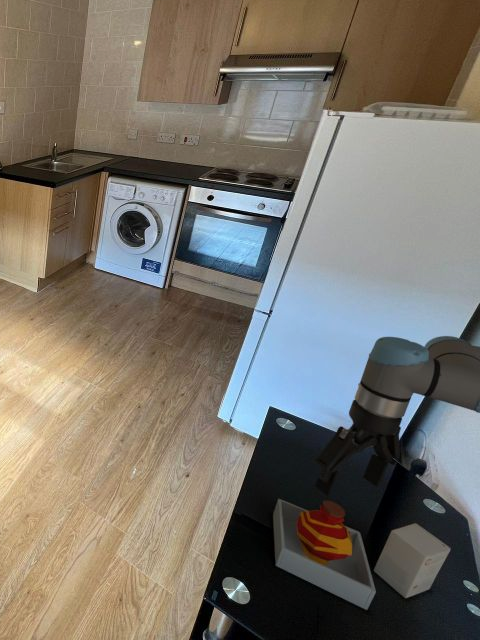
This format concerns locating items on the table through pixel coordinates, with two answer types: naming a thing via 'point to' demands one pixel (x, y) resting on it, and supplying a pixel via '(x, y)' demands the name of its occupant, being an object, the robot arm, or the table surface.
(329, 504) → the potion bottle
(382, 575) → the small box
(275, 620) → the table surface
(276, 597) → the table surface
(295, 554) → the gray square tray
